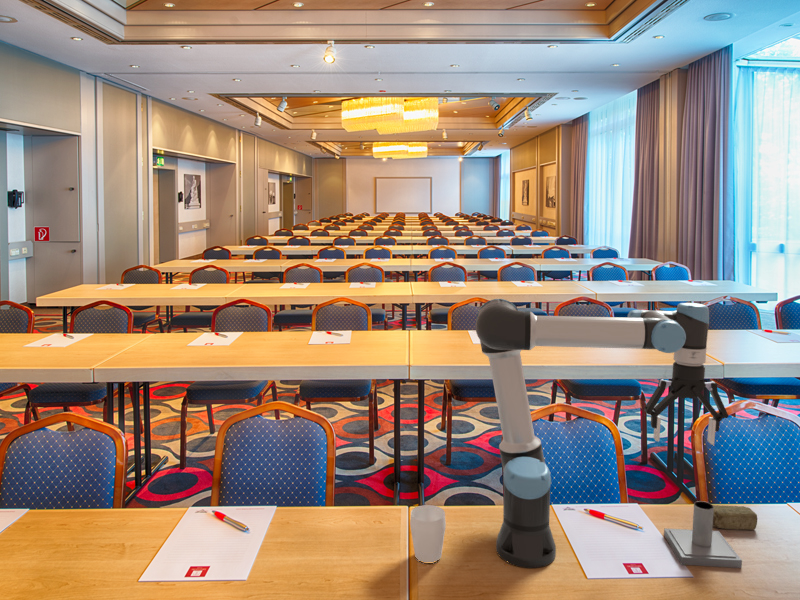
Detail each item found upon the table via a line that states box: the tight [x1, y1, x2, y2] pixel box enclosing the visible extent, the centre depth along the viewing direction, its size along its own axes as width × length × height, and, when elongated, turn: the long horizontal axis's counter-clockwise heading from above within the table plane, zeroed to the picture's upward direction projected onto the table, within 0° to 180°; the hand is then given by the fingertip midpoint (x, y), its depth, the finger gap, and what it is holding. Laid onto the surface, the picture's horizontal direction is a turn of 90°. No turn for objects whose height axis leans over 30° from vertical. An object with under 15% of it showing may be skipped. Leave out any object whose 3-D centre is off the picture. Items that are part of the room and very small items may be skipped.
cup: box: [409, 504, 447, 562], centre depth 152 cm, size 9×9×12 cm
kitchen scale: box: [663, 528, 743, 569], centre depth 154 cm, size 14×14×2 cm
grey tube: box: [692, 500, 714, 547], centre depth 153 cm, size 4×4×10 cm
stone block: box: [712, 504, 758, 531], centre depth 167 cm, size 6×12×5 cm, turn 84°
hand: (683, 441), depth 157 cm, fingers open, 13 cm apart
